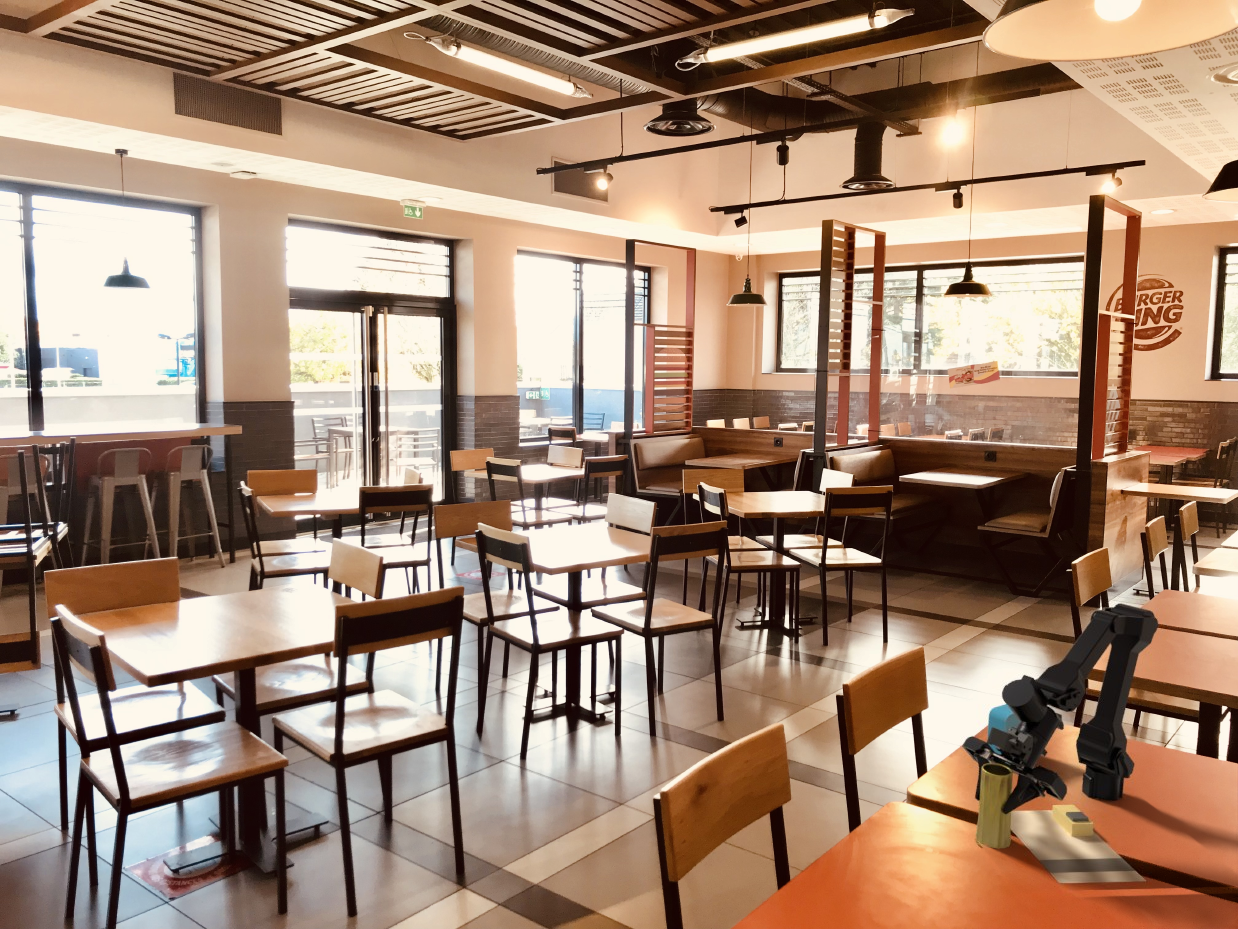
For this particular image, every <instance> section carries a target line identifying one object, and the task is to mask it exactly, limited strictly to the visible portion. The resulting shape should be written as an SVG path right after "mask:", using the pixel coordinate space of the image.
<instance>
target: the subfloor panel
mask: <svg viewBox="0 0 1238 929" xmlns="http://www.w3.org/2000/svg"><path fill="white" fill-rule="evenodd" d="M1052 810H1053V809H1051V810H1049V809H1047V810H1044V809H1043V810H1042V809H1041V810H1013V811H1011V832H1012V833H1014V834H1015V835H1016V837H1017V838H1018V839H1019V840H1020V841H1021V842H1022V844H1023V845H1025V847H1026V848H1027V849H1028V850H1029V851H1030V852H1031V853H1032V855H1033V856H1034V857H1035V858H1036V859H1037V860H1038V861H1039V862H1040V864H1041V865H1042V866H1043V867H1044V868H1045V869H1046V870H1047V871H1048V872H1049V873H1050V874H1051V876H1052V877H1053V878H1054V879H1055V880H1056V881H1057V882H1058V883H1059V884H1084V883H1086V884H1088V883H1089V884H1091V883H1128V882H1131V883H1132V882H1134V883H1135V882H1147V880H1146V879H1145V878H1144V877H1143V876H1142V875H1140V873H1138V872H1137V871H1136V870H1135V869H1134V868H1133V867H1132V866H1131V865H1130V864H1129V863H1128V862H1127V861H1126V860H1125V859H1123V857H1122V856H1120V855H1119V854H1118V853H1117V851H1115V850H1114V849H1113V848H1112V847H1111V846H1110V845H1109V844H1108V843H1106V842H1105V841H1104V840H1103V839H1102V838H1101V836H1099V835H1098V834H1097V833H1096V832H1095V831H1094V830H1093V836H1071V835H1070V834H1069V833H1068V832H1067V831H1066V830H1065V829H1064V828H1063V827H1062V826H1061V825H1060V824H1059V823H1058V822H1057V821H1056V820H1055V819H1054V818H1053V817H1052Z"/></svg>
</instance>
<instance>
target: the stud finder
mask: <svg viewBox="0 0 1238 929" xmlns="http://www.w3.org/2000/svg"><path fill="white" fill-rule="evenodd" d="M1051 810H1052V817H1053V818H1054V819H1055V820H1056V821H1057V822H1058V823H1059V824H1060V825H1061V826H1062V827H1063V828H1064V829H1065V830H1066V831H1067V832H1068V833H1069V834H1070V835H1071V836H1093V831H1094V822H1093V821H1091V819H1089V817H1088V816H1087V815H1086V814H1085V813H1084V812H1082V811H1081V810H1080V809H1079V808H1077V806H1076V805H1074V804H1052V809H1051Z"/></svg>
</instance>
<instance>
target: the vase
mask: <svg viewBox="0 0 1238 929" xmlns="http://www.w3.org/2000/svg"><path fill="white" fill-rule="evenodd" d="M1013 776H1014V772H1013V771H1012V770H1011V769H1010V768H1009V767H1007V766H1004V765H1001V764H996V763H987V764H984V765H983V766H982V769H981V786H980V800H979V803H978V806H979V807H978V818H977V824H976V832H975V837H976V838H974V841H975V843H976V844H977V845H978V847H981V848H982V849H983V848H984V847H983V846H982V845H984V846H986V847H989V848H993V849H1006V848H1009V847H1010V846H1011V843H1012V842H1011V832H1012V830H1011V812H1009V813H1008V814H1004V813H1003V812H1002V809H1003V807H1004V805H1005V803H1006V801H1007V800H1008V798H1009V796H1010V795H1011V793H1012V792H1013V781H1014V780H1013Z"/></svg>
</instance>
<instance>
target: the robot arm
mask: <svg viewBox="0 0 1238 929" xmlns="http://www.w3.org/2000/svg"><path fill="white" fill-rule="evenodd" d="M1158 627H1159V621H1158V619H1157V618H1156V616H1155V613H1154V611H1152V610H1149V609H1145V608H1142V607H1138V606H1133V605H1129V604H1125V603H1117V604H1114V606H1112V607H1111V606H1110V607H1109V606H1108V607H1107V606H1105V607H1102V609H1097V610H1094V611H1093V612H1092V614H1091V615H1090V622H1089V623H1088V624H1087V625H1086V627H1085V629H1083V631H1082V632H1081V634H1080V635H1079V637H1078V638H1077V639H1076V641H1075V643H1074V644H1072V647H1071V648H1070V649H1069V651H1068V652H1067V654H1066V655H1065V656H1064V657H1063V659H1062V660H1061V661H1060V662H1058V663H1056V664H1054V665H1050V666H1049V667H1047V668H1046V669H1045V670H1044V671H1043V672H1042V674H1040V675H1039V677H1038V678H1036V679H1035V678H1034V677H1032V676H1029V675H1027V674H1023V675H1022V677H1021V678H1020V679H1015V680H1012V681H1010V682H1009V683H1008V684H1005V685H1004V686H1003V689H1002V692H1001V698H1002V699H1003V701H1004V704H1007V705H1008V707H1009V708H1010V709H1011V711H1012V712H1013V713H1014V714H1015V716H1016V717H1017V718H1018V719H1019V720H1020V723H1019V724H1018V726H1017V728H1014V727H1011V728H1010V729H1009V731H1008V732H1005V731H1003V730H1000V729H997V728H995V727H992V728H991V731H990V734H989V737H988V736H987V737H988V740H986V741H984V740H982V739H980V738H978V737H975V736H974V735H971V736H969V737H967V738H966V739H965V740H964V742H963V743H962V748H963V749H964V750H965V751H966V753H967V754H968V755H969V756H970V757H971V758H972V760H973V761H975V762H976V763H977V765H978V776H977V784H976V788H975V794H974V798H975V800H976V801H979V800H980V786H981V769H982V766H983V765H984V764H987V763H996V764H1001V765H1004V766H1007V767H1009V768H1010V769H1011V770H1012V772H1013V773H1016V774H1017V775H1018V776H1017V781H1016V784H1015V786H1014V788H1013V789H1012V793H1011V795H1010V796H1009V798H1008V800H1007V801H1006V803H1005V805H1004V807H1003V809H1002V812H1003V813H1004V814H1008V813H1009V812H1011V811H1015V810H1016V809H1018V808H1019V807H1021V806H1023V805H1024V804H1026V803H1028V802H1031V801H1033V800H1035V799H1038V798H1039V797H1041V798H1045V797H1046V794H1047V796H1049V797H1052V798H1055V799H1056V800H1059V801H1060V802H1062V801H1063V800H1064V799H1065V797H1066V795H1067V794H1068V786H1067V784H1066V783H1065V781H1064V780H1063V779H1062V778H1061V776H1060V775H1059V774H1058V773H1057V772H1056V771H1055V770H1051V769H1049V768H1047V767H1044V766H1042V765H1041V764H1040V765H1037V762H1038V760H1039V759H1040V757H1041V756H1042V757H1044V758H1045V757H1046V756H1047V754H1048V751H1047V750H1046V747H1047V745H1048V744H1049V742H1050V741H1051V738H1052V737H1053V735H1054V734H1055V732H1056V730H1057V729H1058V730H1060V731H1064V729H1065V727H1064V726H1065V725H1064V724H1065V723H1064V722H1063V715H1062V714H1060V713H1057V712H1056V711H1055V710H1054V709H1053V708H1055V709H1058V710H1060V711H1063V712H1066V713H1068V712H1071V713H1072V712H1074V711H1075V710H1076V709H1077V708H1078V707H1079V706H1081V704H1082V703H1081V702H1082V700H1083V698H1084V695H1085V694H1086V679H1087V677H1088V676H1089V674H1090V673H1091V671H1092V670H1093V669H1094V668H1095V666H1096V664H1098V662H1099V660H1100V658H1102V656H1103V655H1104V653H1105V652H1106V651H1107V649H1108V648H1109V647H1110V650H1109V656H1108V659H1107V663H1106V667H1105V672H1104V675H1103V680H1102V683H1101V684H1102V685H1101V688H1100V692H1099V696H1098V701H1097V705H1096V709H1095V712H1094V716H1093V717H1092V718H1091V719H1090V720H1089V721H1087V722H1082V723H1081V725H1080V727H1079V733H1078V736H1077V739H1076V742H1075V748H1076V753H1077V759H1078V763H1080V764H1081V765H1085V772H1083V773H1082V774H1083V775H1082V786H1081V792H1082V794H1084V795H1085V796H1086V797H1087V798H1090V799H1093V800H1094V799H1097V800H1099V801H1105V802H1115V801H1118V800H1119V799H1123V796H1124V784H1125V779H1129V778H1130V777H1131V775H1132V774H1133V771H1134V768H1135V761H1134V760H1133V759H1132V757H1131V756H1130V755H1129V753H1127V746H1128V738H1127V736H1126V733H1125V730H1124V728H1123V720H1124V717H1125V712H1126V707H1127V704H1128V700H1129V695H1130V693H1131V692H1130V691H1131V688H1132V682H1133V679H1134V675H1135V671H1136V666H1137V662H1138V658H1139V655H1140V653H1141V652H1143V651H1144V650H1145V649H1146V648H1148V647H1149V646H1150V644H1152V642H1153V639H1154V635H1155V634H1156V632H1157V630H1158ZM989 744H990V745H995V746H996V747H995V748H996V749H997V750H998V751H1000V752H1001V754H998V753H996V752H995V751H994V750H993V749H992V748H991V747H990V745H989ZM1005 762H1007V763H1008V764H1007V763H1005ZM1009 764H1010V765H1009ZM1045 793H1046V794H1045Z"/></svg>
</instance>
